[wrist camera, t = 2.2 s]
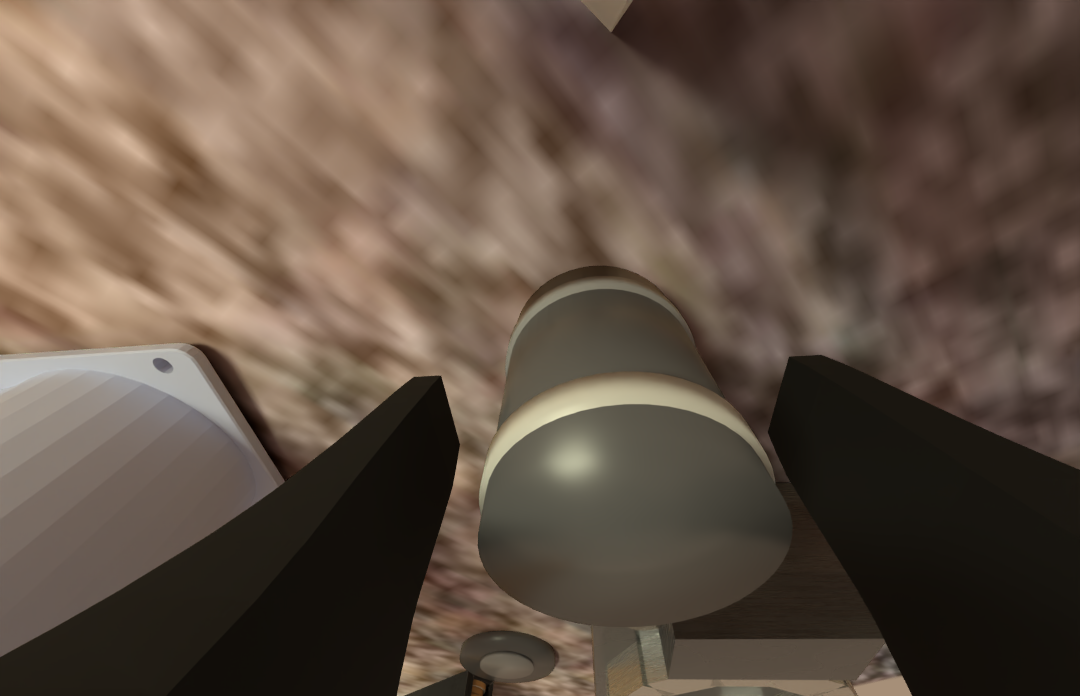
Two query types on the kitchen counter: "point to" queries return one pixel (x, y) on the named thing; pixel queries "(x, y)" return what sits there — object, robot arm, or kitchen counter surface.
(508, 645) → the lens cap
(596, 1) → the milk
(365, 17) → the kitchen counter surface
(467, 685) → the ammunition clip
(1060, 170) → the kitchen counter surface
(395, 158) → the kitchen counter surface
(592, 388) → the lens
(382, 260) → the kitchen counter surface
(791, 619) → the camera body
